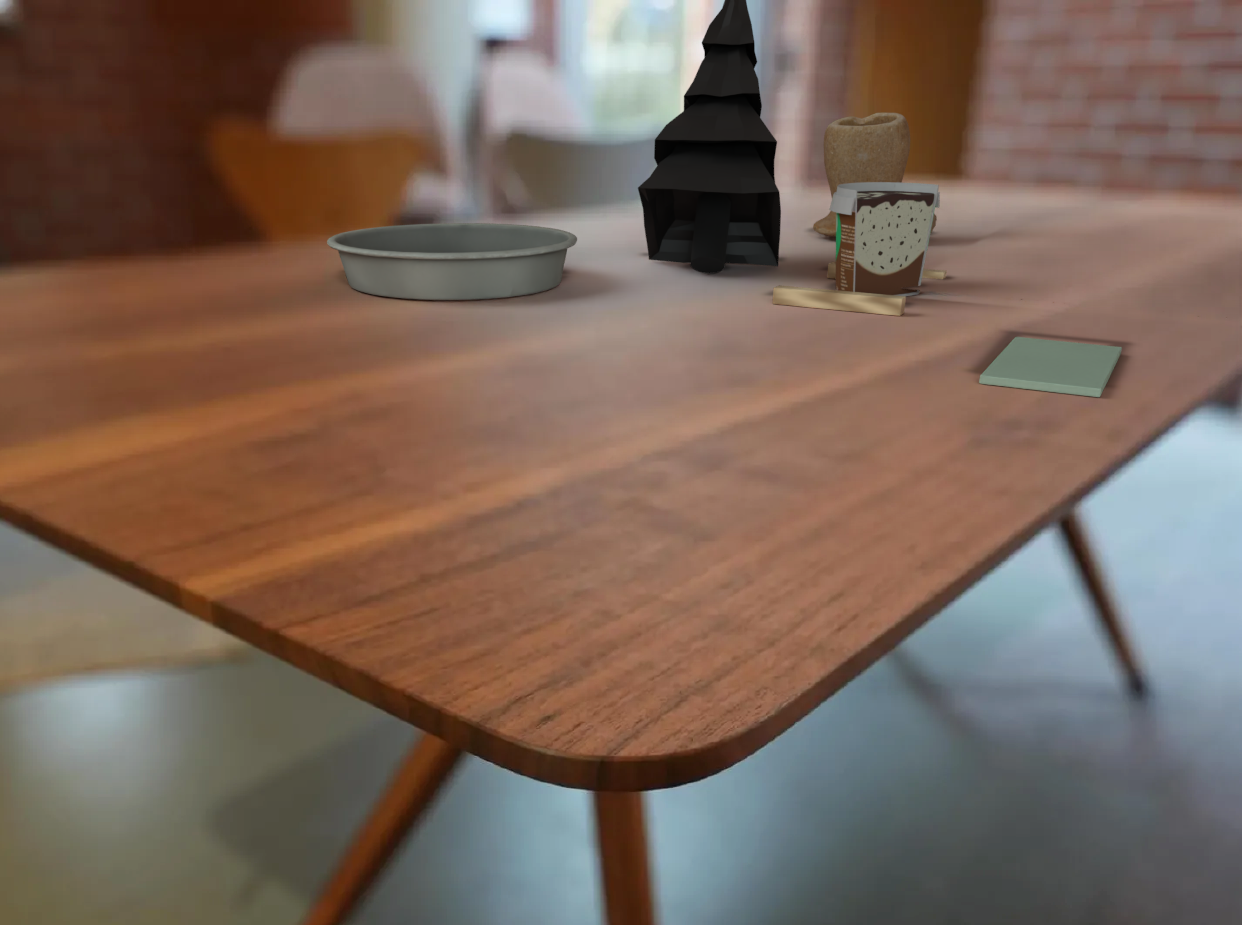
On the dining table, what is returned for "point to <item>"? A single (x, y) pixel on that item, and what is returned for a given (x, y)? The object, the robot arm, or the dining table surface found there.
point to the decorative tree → (716, 162)
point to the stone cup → (864, 155)
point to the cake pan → (453, 260)
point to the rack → (846, 297)
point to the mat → (1053, 366)
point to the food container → (882, 235)
